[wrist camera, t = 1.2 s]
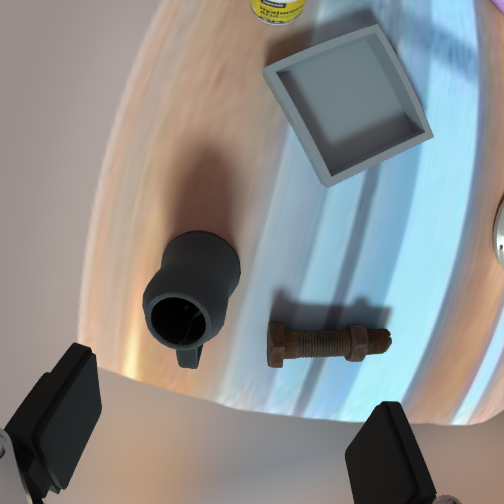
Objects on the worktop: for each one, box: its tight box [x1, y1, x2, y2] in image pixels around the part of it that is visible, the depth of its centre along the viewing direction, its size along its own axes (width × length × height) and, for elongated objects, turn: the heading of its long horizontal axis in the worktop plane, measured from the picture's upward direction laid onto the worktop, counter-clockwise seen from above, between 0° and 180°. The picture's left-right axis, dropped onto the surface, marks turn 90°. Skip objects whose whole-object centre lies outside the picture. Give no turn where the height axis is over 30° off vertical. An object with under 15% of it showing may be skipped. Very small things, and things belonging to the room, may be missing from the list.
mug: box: [142, 231, 241, 369], centre depth 31 cm, size 12×9×11 cm
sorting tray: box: [263, 24, 434, 188], centre depth 27 cm, size 13×13×4 cm
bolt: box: [267, 323, 392, 368], centre depth 36 cm, size 6×5×15 cm
